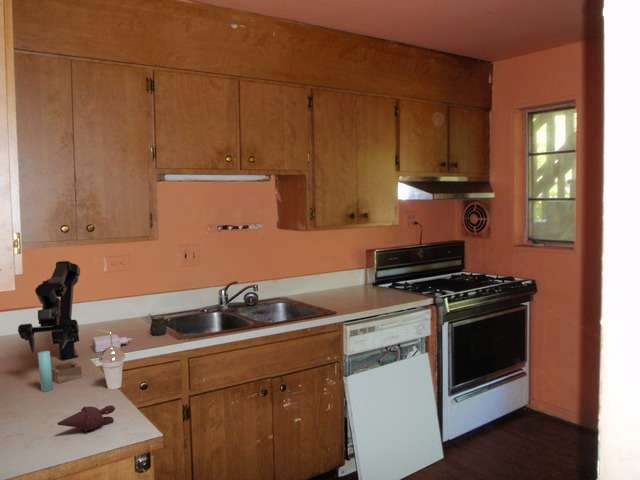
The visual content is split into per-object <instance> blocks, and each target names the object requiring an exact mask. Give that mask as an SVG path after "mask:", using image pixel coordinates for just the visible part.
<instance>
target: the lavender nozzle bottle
mask: <svg viewBox="0 0 640 480" xmlns="http://www.w3.org/2000/svg"><path fill="white" fill-rule="evenodd" d="M112 340H113V346H115V347H118V348H120V349H121V345H125V344H128V343H129V341H132V340H133V338H132V337H129V338H127V336H122V337H120V336H119V335H118V334H114V333H112ZM91 341H92V348H93V350H94V351H95V353H97V354H98V353H102V352H103V351H104V350H105V349H106V348H108V347H111V343H110V334H108V335H102V336H96V337H92V339H91Z"/></svg>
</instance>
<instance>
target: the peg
mask: <svg viewBox="0 0 640 480" xmlns="http://www.w3.org/2000/svg"><path fill="white" fill-rule="evenodd" d="M37 358H38V359H37V361H38V369H39V370H38V371H39V382H40V391H41V392H43V393H47V392H50V391H52V390H54V383H53V379H52V370H51V367H52V361H51V360H52V359H51V351H50V350H41V351H38V352H37Z"/></svg>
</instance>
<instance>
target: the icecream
mask: <svg viewBox="0 0 640 480" xmlns="http://www.w3.org/2000/svg"><path fill="white" fill-rule="evenodd" d="M115 410H116V406H114V405H107V406H104V407H103V408H101V409H100V408H98V407H97V406H96V407H95V406H85V405H84V406H83V407H82V408H81V410H79V412H76V413H75V414H72V415H71V416H68V417H67V418H65V419H64V418H63V419H62V420H59V421H58V422H57V426H63V427H70V428H77V429H82V430H83V431H84V432H85V433H87V432H88V431H91V430H95V429H96V428H98V427H99V426H100V425H110V424H112V423H114V420H115V419H114V417H111V416H104V415H109V414H112V413H113V412H114V411H115Z"/></svg>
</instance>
